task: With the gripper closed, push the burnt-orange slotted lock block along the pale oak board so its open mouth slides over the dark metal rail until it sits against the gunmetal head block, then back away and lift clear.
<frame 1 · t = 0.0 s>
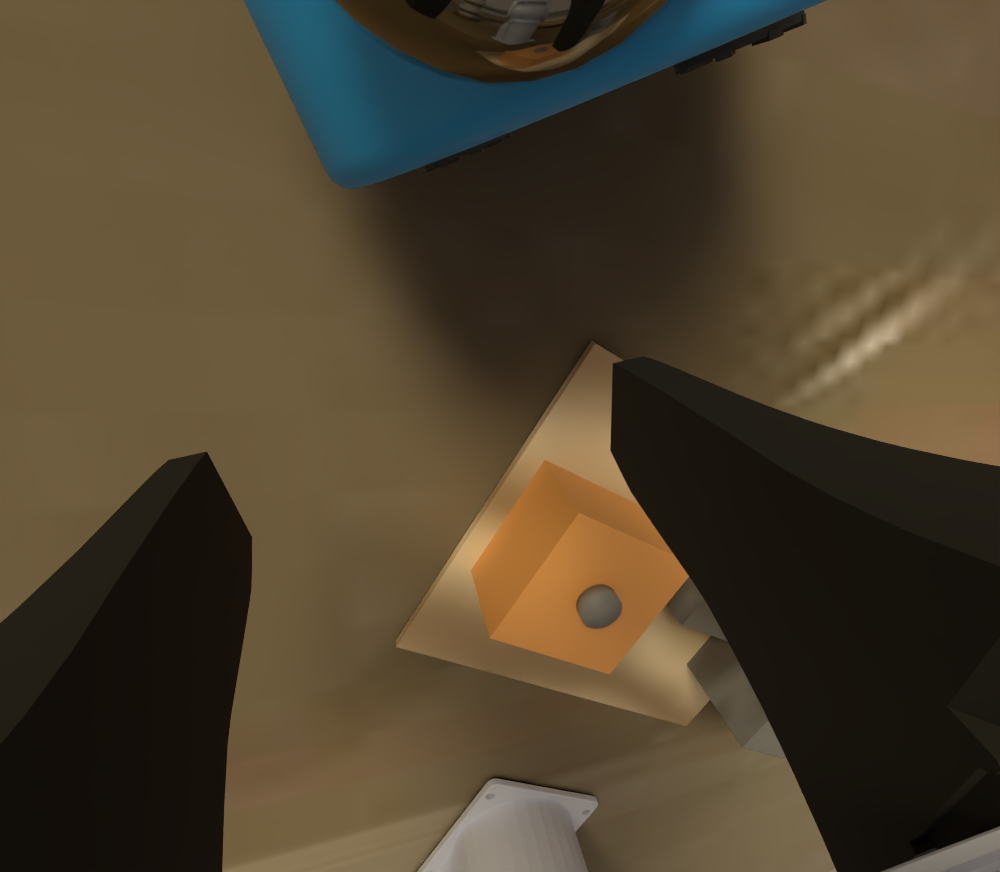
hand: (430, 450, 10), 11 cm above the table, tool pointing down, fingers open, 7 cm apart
lock: (562, 539, 25), resting on dock
dock: (647, 571, 27), on the table
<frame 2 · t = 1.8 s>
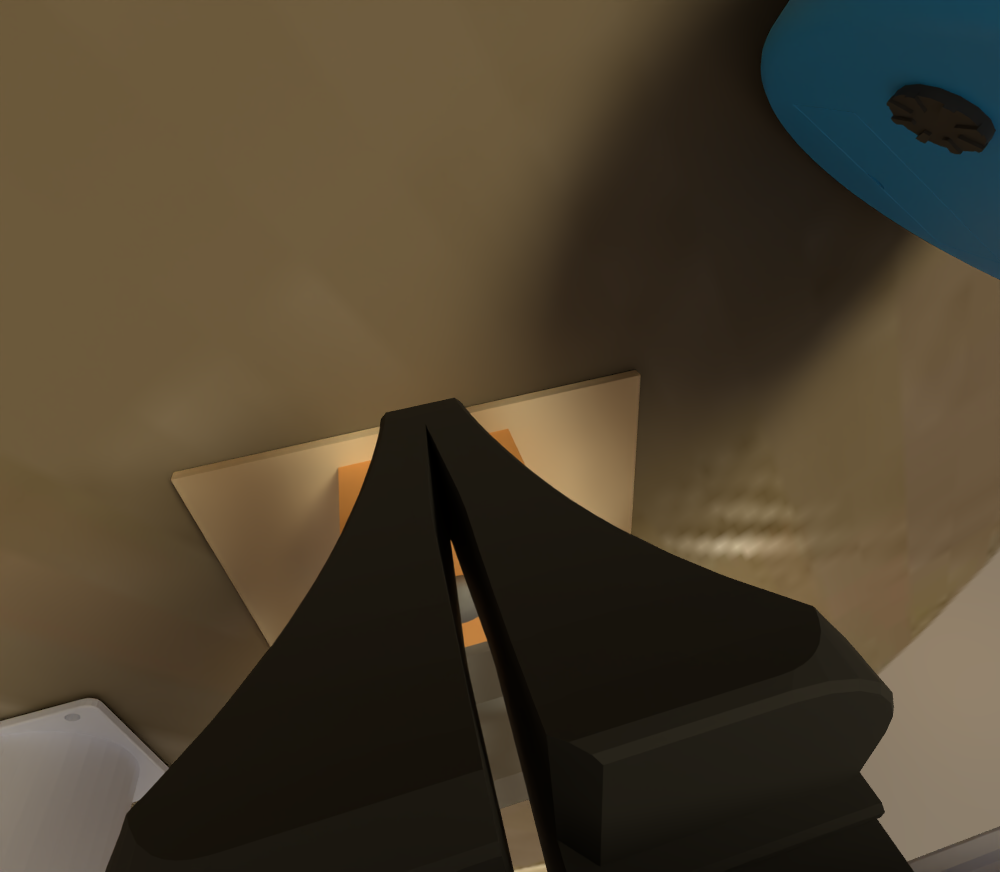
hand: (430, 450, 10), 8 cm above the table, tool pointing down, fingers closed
alarm clock: (868, 64, 16), on the table
lock: (439, 509, 21), resting on dock
dock: (457, 592, 25), on the table
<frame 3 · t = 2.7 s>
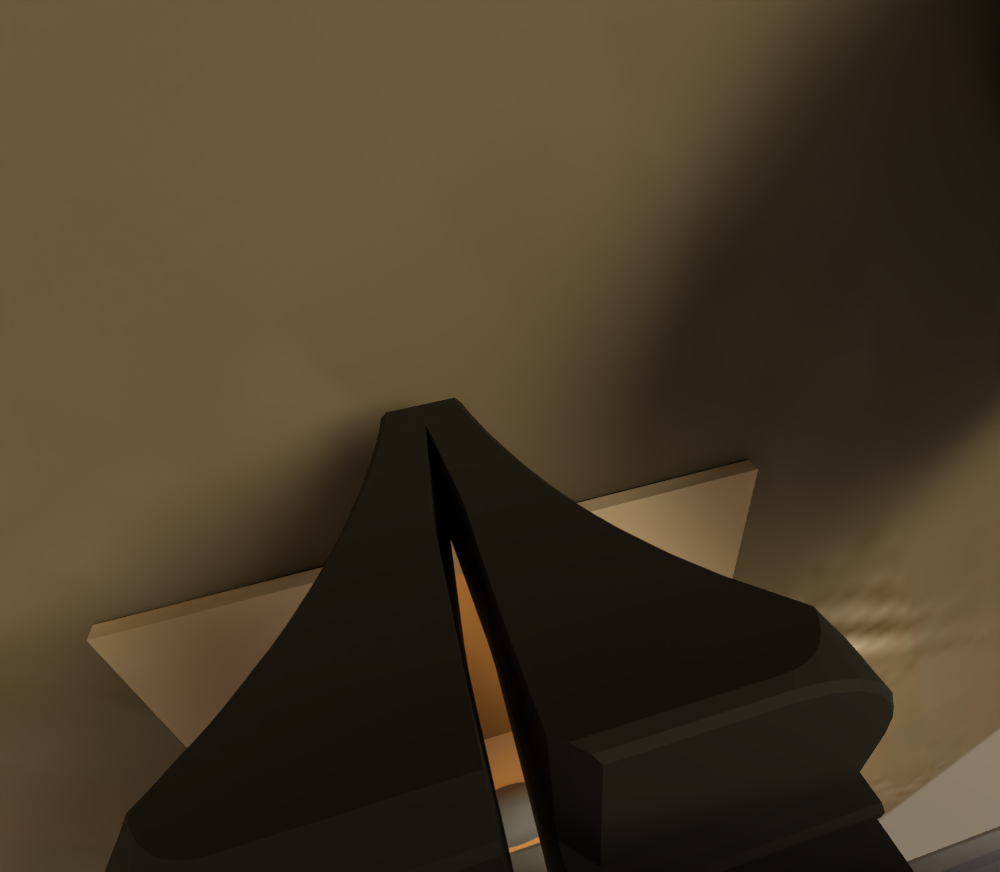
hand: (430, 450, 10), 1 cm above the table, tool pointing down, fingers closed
lock: (472, 645, 15), resting on dock
dock: (490, 727, 19), on the table
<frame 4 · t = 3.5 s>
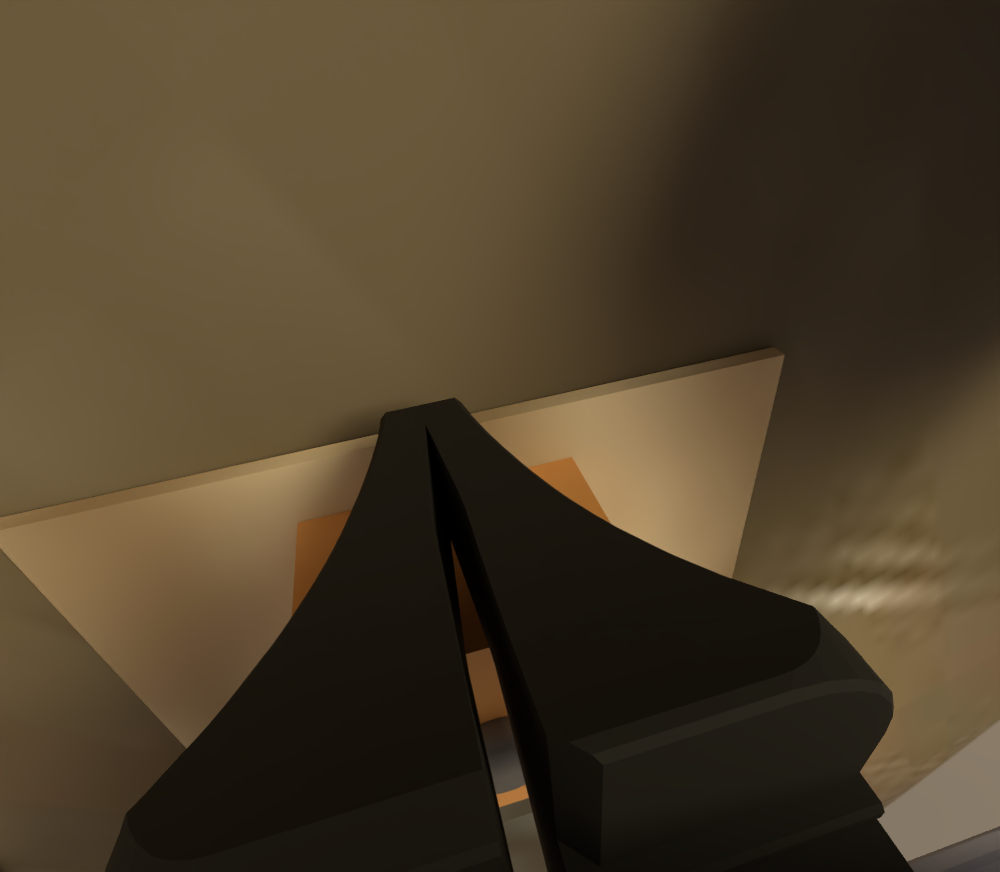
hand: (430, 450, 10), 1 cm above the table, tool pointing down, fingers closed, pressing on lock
lock: (459, 578, 14), resting on dock, touching gripper
dock: (478, 675, 17), on the table
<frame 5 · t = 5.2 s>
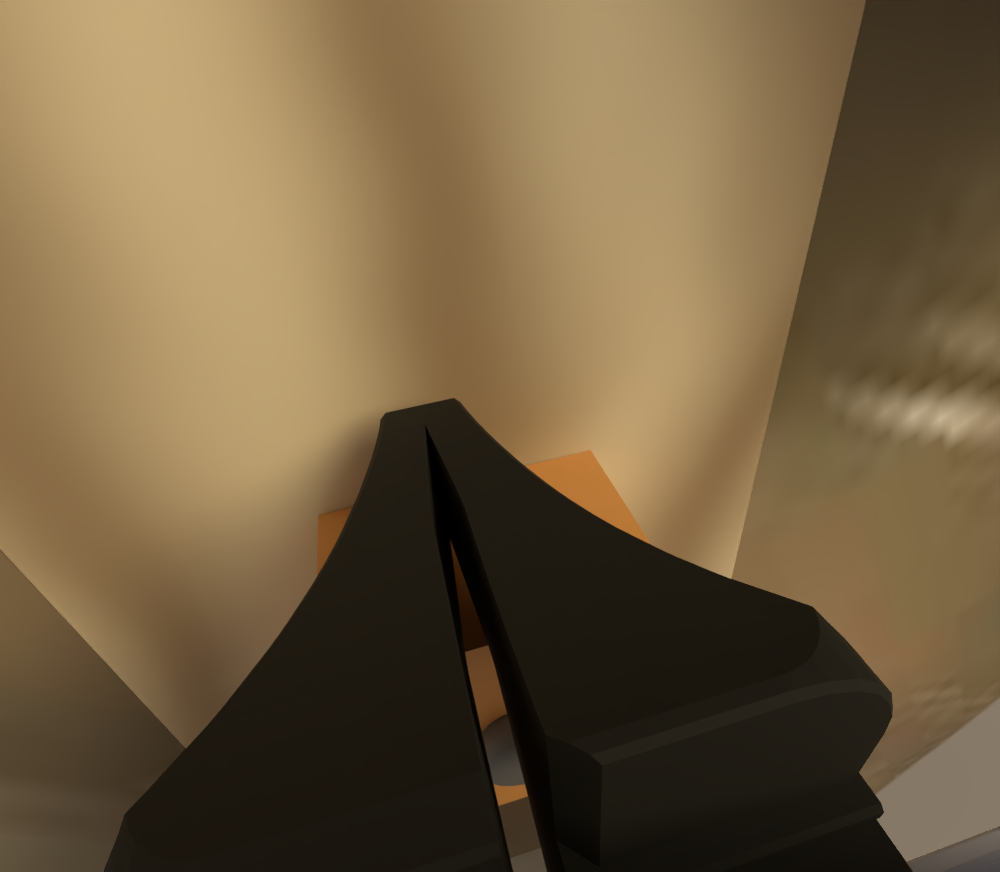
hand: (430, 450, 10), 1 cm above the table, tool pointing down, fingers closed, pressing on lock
lock: (476, 572, 14), resting on dock, touching gripper
dock: (433, 474, 12), on the table
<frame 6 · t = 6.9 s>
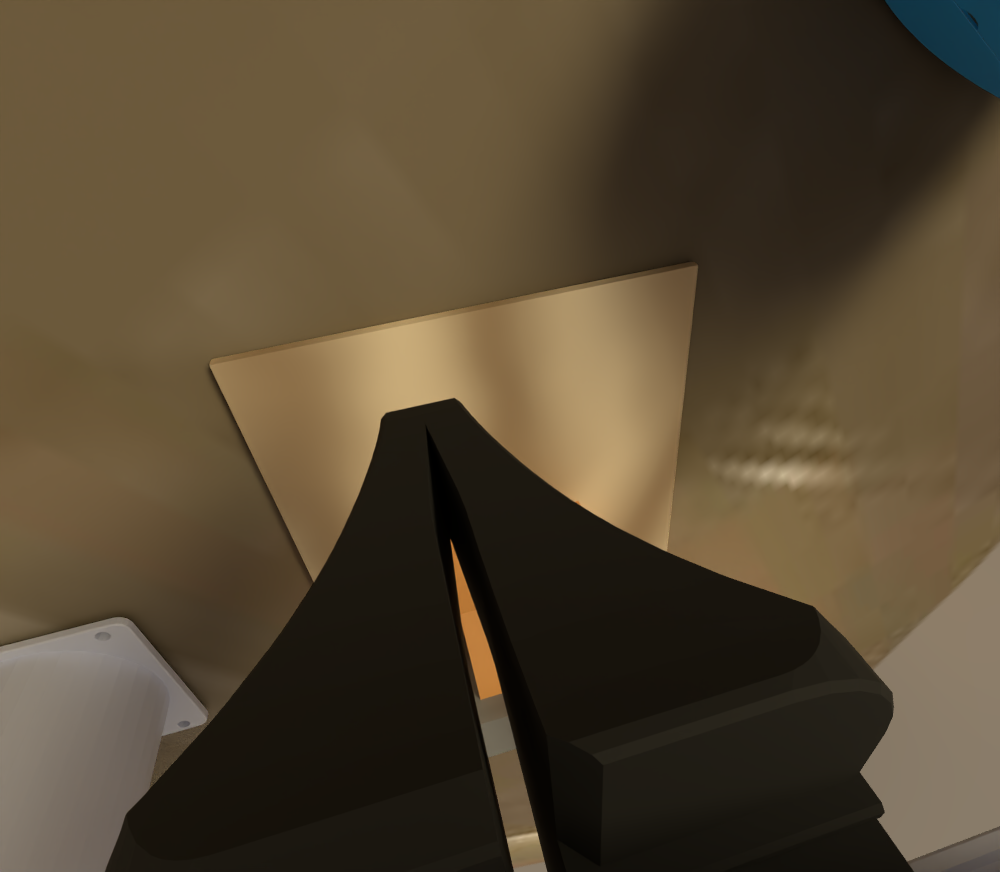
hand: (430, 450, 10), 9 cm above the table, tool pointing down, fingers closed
lock: (517, 564, 25), resting on dock
dock: (497, 514, 24), on the table
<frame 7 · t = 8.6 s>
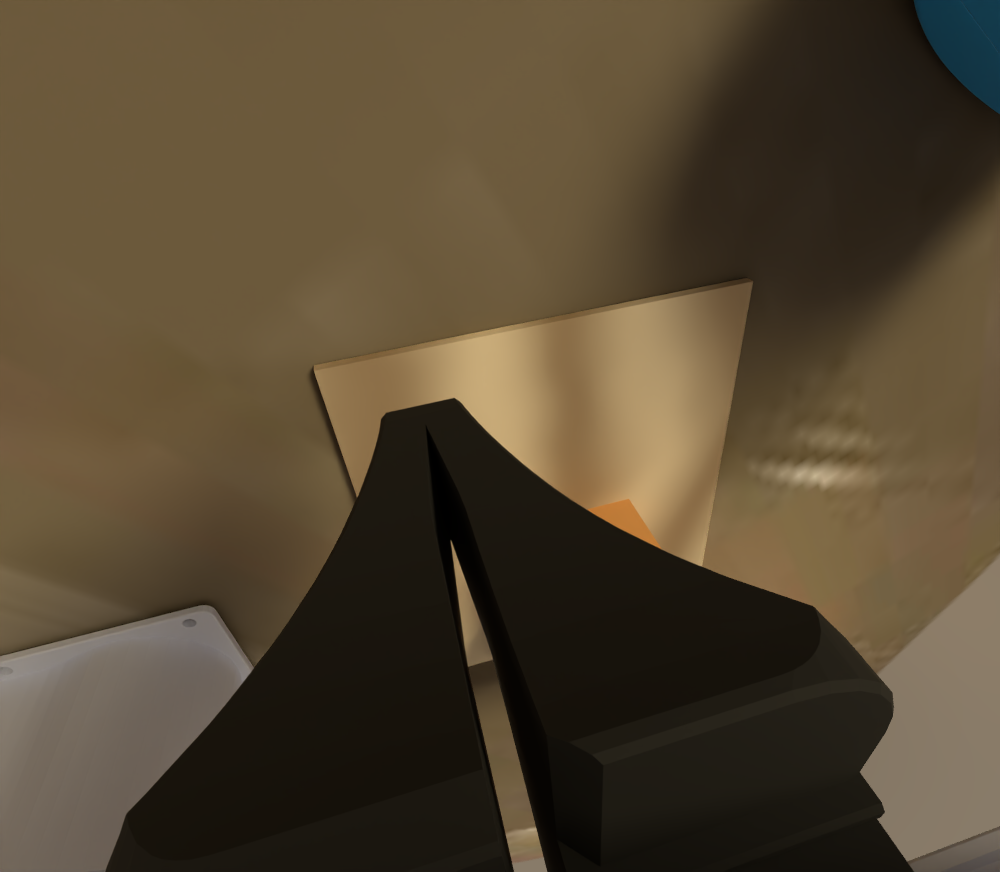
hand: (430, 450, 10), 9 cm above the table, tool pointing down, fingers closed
lock: (568, 558, 27), resting on dock
dock: (553, 511, 25), on the table
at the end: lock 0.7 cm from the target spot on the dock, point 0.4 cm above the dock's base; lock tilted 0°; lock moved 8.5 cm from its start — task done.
